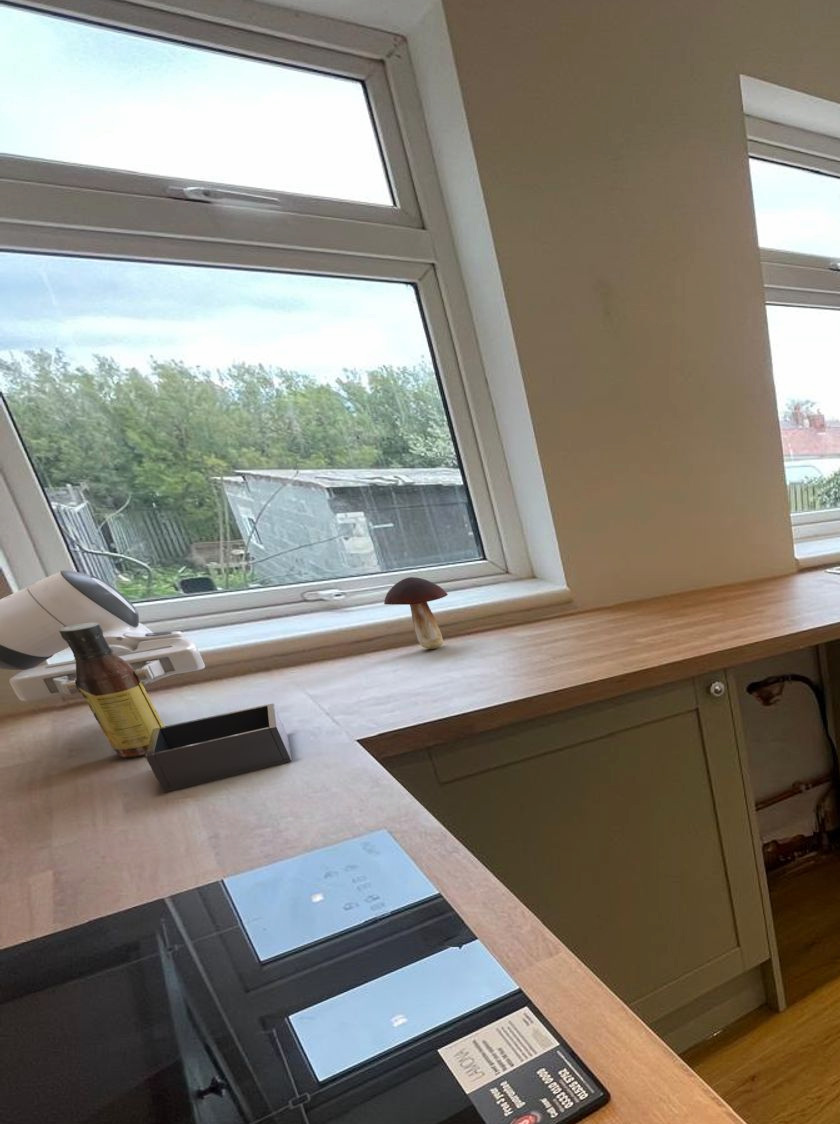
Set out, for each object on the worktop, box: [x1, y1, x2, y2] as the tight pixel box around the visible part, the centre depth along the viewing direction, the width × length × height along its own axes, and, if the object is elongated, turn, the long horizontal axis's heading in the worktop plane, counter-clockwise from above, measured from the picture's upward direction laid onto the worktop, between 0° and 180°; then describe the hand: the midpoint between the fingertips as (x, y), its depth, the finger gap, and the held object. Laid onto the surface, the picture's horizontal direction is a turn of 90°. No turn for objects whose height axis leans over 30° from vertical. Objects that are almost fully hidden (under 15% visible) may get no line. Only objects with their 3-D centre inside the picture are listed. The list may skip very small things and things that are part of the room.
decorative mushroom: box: [383, 576, 449, 650], centre depth 166 cm, size 11×11×15 cm
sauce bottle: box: [59, 623, 165, 758], centre depth 119 cm, size 6×6×20 cm
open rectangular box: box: [144, 703, 292, 794], centre depth 117 cm, size 14×14×6 cm
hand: (108, 681), depth 118 cm, fingers closed on sauce bottle, 6 cm apart
